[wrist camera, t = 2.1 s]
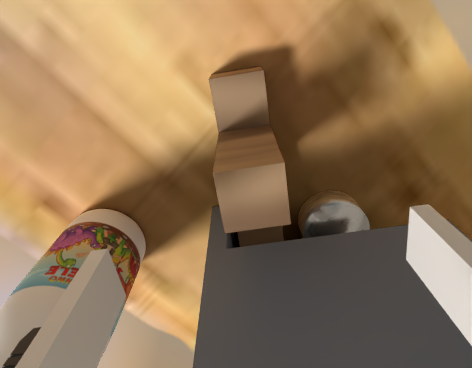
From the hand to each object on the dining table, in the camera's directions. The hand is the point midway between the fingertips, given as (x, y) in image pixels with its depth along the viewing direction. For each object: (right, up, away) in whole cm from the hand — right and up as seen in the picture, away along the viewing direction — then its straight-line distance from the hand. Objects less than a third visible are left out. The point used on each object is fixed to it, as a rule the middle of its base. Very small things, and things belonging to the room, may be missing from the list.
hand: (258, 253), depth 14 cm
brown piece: (+1, +2, +17) cm, 17 cm away
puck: (+8, 0, +18) cm, 20 cm away
